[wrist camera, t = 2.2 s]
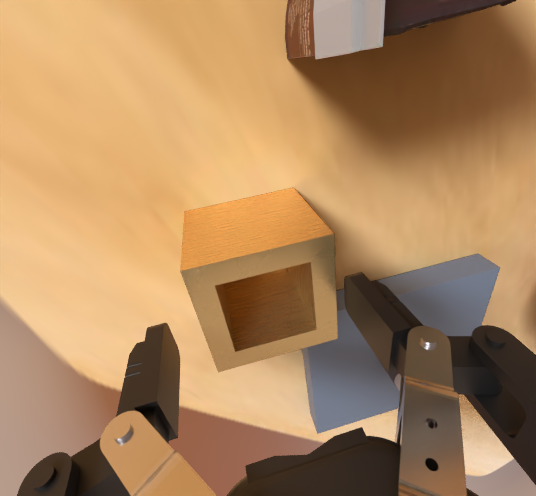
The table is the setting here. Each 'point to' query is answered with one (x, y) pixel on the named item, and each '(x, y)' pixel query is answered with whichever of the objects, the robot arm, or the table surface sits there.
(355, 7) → the food container
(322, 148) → the table surface
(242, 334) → the brass collar
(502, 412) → the robot arm
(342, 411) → the post stand
